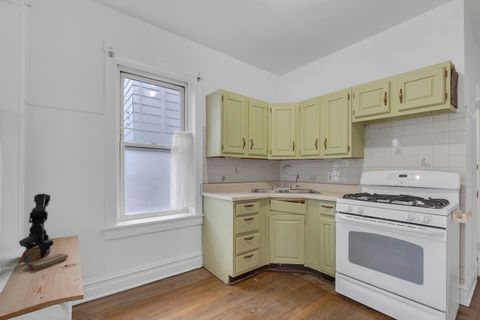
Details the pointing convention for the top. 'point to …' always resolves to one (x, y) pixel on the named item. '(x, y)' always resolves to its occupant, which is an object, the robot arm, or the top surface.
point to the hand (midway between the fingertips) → (36, 257)
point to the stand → (47, 261)
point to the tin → (33, 254)
